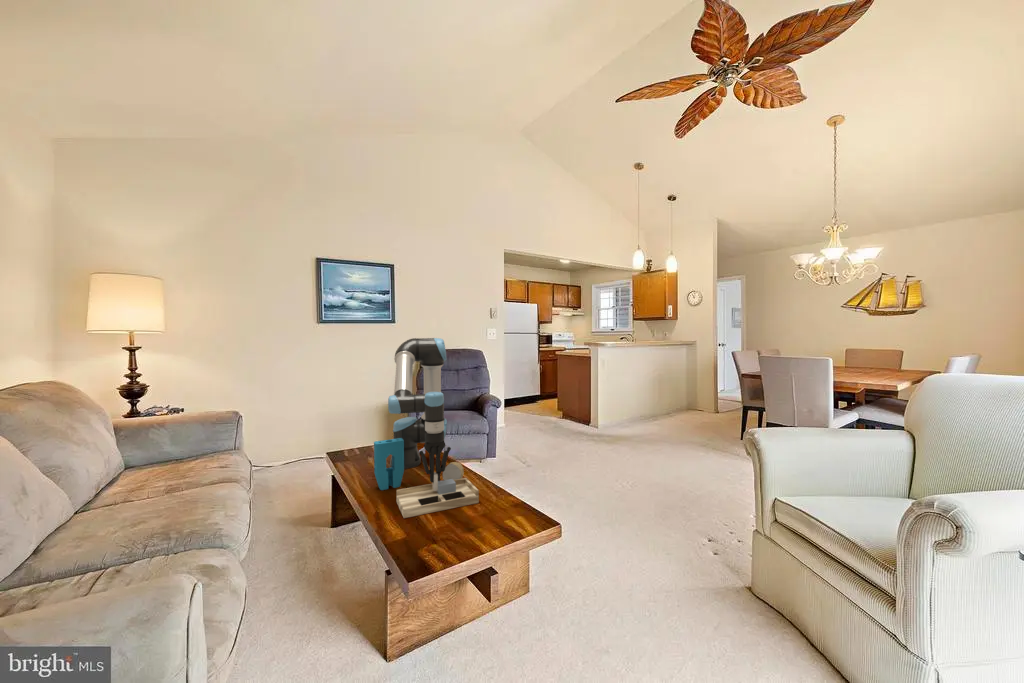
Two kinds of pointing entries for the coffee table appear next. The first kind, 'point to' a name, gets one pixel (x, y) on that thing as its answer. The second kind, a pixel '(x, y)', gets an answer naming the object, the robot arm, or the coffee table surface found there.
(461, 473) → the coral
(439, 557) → the coffee table surface
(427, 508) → the box
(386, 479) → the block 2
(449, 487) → the block
